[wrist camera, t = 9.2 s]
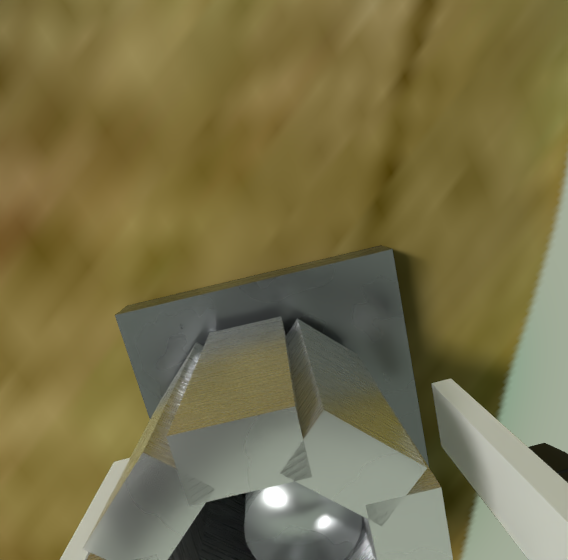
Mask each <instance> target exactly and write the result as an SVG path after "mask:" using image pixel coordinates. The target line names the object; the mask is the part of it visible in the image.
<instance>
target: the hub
mask: <svg viewBox="0 0 568 560" xmlns="http://www.w3.org/2000/svg"><path fill="white" fill-rule="evenodd" d="M294 481H295V482H297V483H299V484H301V485H303V486H305V487H307V488H309V489H311V490H313V491H315V492H317V493H319V494H320V495H322V496H324V497H326V498H328V499H330V500H332V501H334V502H336V503H338V504H340V505H342V506H344V507H346V508H347V509H349V510H351V511H353V512H355V513H357V514H359V515H361V516H362V529H361V533H360V536H359V539H358V541H357V543H356V545H355V547H354V548H353V550H352V551H351V552H350V553H349V554H348V556H347V557H345V558H344V559H343V560H453V557H452V551H451V545H450V539H449V532H448V526H447V520H446V513H445V507H444V501H443V495H442V488H441V486H440V484H439V483H438V481H437V480H436V478H435V476H434V475H433V473H432V472H431V470H430V468H429V467H428V465H427V464H426V462H425V460H424V459H423V457H422V455H421V454H420V452H419V451H418V449H417V447H416V446H415V444H414V443H413V441H412V439H411V438H410V436H409V435H408V433H407V431H406V430H405V428H404V427H403V425H402V423H401V422H400V420H399V419H398V417H397V415H396V414H395V412H394V411H393V409H392V407H391V406H390V404H389V403H388V401H387V399H386V398H385V396H384V395H383V393H382V391H381V390H380V388H379V387H378V385H377V383H376V382H375V380H374V379H373V377H372V375H371V374H370V372H369V371H368V369H367V367H366V366H364V364H363V363H362V361H361V360H360V358H359V356H358V355H357V354H356V353H354V352H353V351H351V350H349V349H348V348H346V347H344V346H343V345H341V344H339V343H338V342H336V341H334V340H332V339H331V338H329V337H327V336H326V335H324V334H322V333H321V332H319V331H317V330H316V329H314V328H312V327H311V326H309V325H307V324H306V323H304V322H302V321H301V320H299V319H297V320H296V322H295V323H294V325H293V326H292V328H291V329H290V331H289V332H288V334H287V335H286V334H285V330H284V326H283V321H282V317H281V316H280V317H276V318H271V319H267V320H263V321H258V322H254V323H250V324H246V325H241V326H237V327H233V328H228V329H224V330H220V331H215V332H211V333H209V335H208V338H207V340H206V342H205V345H204V346H202V345H201V344H199V343H197V342H196V343H195V345H194V347H193V348H192V350H191V352H190V353H189V355H188V356H187V358H186V360H185V361H184V363H183V365H182V366H181V368H180V369H179V371H178V373H177V374H176V376H175V377H174V379H173V381H172V382H171V384H170V386H169V387H168V389H167V390H166V392H165V394H164V395H163V397H162V399H161V400H160V402H159V404H158V406H157V408H156V410H155V412H154V414H153V415H152V417H151V419H150V421H149V423H148V425H147V427H146V429H145V431H144V433H143V435H142V436H141V438H140V440H139V442H138V444H137V446H136V448H135V450H134V452H133V454H132V456H131V457H130V459H129V461H128V463H127V465H126V467H125V469H124V471H123V473H122V475H121V477H120V478H119V480H118V482H117V484H116V486H115V488H114V490H113V492H112V494H111V496H110V498H109V499H108V501H107V503H106V505H105V507H104V509H103V511H102V513H101V515H100V517H99V519H98V520H97V522H96V524H95V526H94V528H93V530H92V532H91V534H90V536H89V538H88V540H87V541H86V543H85V545H84V547H83V550H86V551H88V552H90V554H89V556H88V558H87V560H257V559H256V558H255V557H254V555H253V554H252V553H251V551H250V549H249V548H248V545H247V543H246V539H245V533H244V522H245V495H246V493H247V492H251V491H256V490H260V489H264V488H268V487H273V486H277V485H281V484H285V483H290V482H294Z"/></svg>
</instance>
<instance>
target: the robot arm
mask: <svg viewBox="0 0 568 560" xmlns="http://www.w3.org/2000/svg"><path fill="white" fill-rule="evenodd" d="M431 384H432V390H433V396H434V403H435V409H436V415H437V422H438V428H439V434H440V441H441V446H442V448H443V449H444V450H445V452H446V453H447V454H448V456H449V457H450V458H451V459H452V461H453V462H454V463H455V465H456V466H457V467H458V469H459V470H460V471H461V473H462V474H463V475H464V476H465V478H466V479H467V480H468V482H469V483H470V484H471V486H472V487H473V488H474V489H475V491H476V492H477V493H478V495H479V496H480V497H481V499H482V500H483V501H484V503H485V504H486V505H487V506H488V508H489V509H490V510H491V512H492V513H493V514H494V516H495V517H496V518H497V520H498V521H499V522H500V523H501V525H502V526H503V527H504V529H505V530H506V531H507V532H508V534H509V535H510V537H511V538H512V539H513V540H514V542H515V543H516V544H517V545H518V547H519V548H520V549H521V551H522V552H523V554H524V555H525V556H526V557H527V559H528V560H568V454H567V453H565V452H563V451H561V450H559V449H557V448H555V447H553V446H550V445H548V444H546V443H542V444H538V445H534V446H530V447H527V446H526V445H525V444H524V443H523V442H521V441H520V440H519V439H518V438H517V437H516V436H515V435H513V433H511V432H510V431H509V430H508V429H507V428H506V427H505V426H504V425H502V424H501V423H500V422H499V421H498V420H497V419H496V418H495V417H493V416H492V415H491V414H490V413H489V412H488V411H487V410H486V409H485V408H483V407H482V406H481V405H480V404H479V403H478V402H477V401H476V400H474V399H473V398H472V397H471V396H470V395H469V394H468V393H467V392H466V391H464V390H463V389H462V388H461V387H460V386H459V385H458V384H457V383H455V382H454V381H453V380H452V379H447V380H443V381H439V382H435V383H431ZM129 459H130V458H128V459H124V460H120V461H116V462H114V463H113V465H112V466H111V468H110V470H109V472H108V474H107V475H106V477H105V479H104V481H103V483H102V485H101V486H100V488H99V490H98V492H97V494H96V495H95V497H94V499H93V501H92V503H91V504H90V506H89V508H88V510H87V512H86V513H85V515H84V517H83V519H82V521H81V522H80V524H79V526H78V528H77V530H76V532H75V533H74V535H73V537H72V539H71V541H70V542H69V544H68V546H67V548H66V550H65V551H64V553H63V555H62V557H61V559H60V560H87V558H88V556H89V554H90V552H88V551H86V550H83V547H84V545H85V543H86V541H87V540H88V538H89V536H90V534H91V532H92V530H93V528H94V526H95V524H96V522H97V520H98V519H99V517H100V515H101V513H102V511H103V509H104V507H105V505H106V503H107V501H108V499H109V498H110V496H111V494H112V492H113V490H114V488H115V486H116V484H117V482H118V480H119V478H120V477H121V475H122V473H123V471H124V469H125V467H126V465H127V463H128V461H129Z"/></svg>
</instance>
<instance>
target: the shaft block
mask: <svg viewBox="0 0 568 560" xmlns="http://www.w3.org/2000/svg"><path fill="white" fill-rule="evenodd" d="M280 316H281V317H282V321H283V326H284V330H285V334H286V335H287V334H288V332H289V331H290V329H291V328H292V326H293V325H294V323H295V322H296V320H297V319H299V320H301V321H302V322H304V323H306V324H307V325H309V326H311V327H312V328H314V329H316V330H317V331H319V332H321V333H322V334H324V335H326V336H327V337H329V338H331V339H332V340H334V341H336V342H338V343H339V344H341V345H343V346H344V347H346V348H348V349H349V350H351V351H353V352H354V353H356V354H357V355H358V356H359V358H360V360H361V361H362V363H363V364H364V366H366V367H367V369H368V371H369V372H370V374H371V375H372V377H373V379H374V380H375V382H376V383H377V385H378V387H379V388H380V390H381V391H382V393H383V395H384V396H385V398H386V399H387V401H388V403H389V404H390V406H391V407H392V409H393V411H394V412H395V414H396V415H397V417H398V419H399V420H400V422H401V423H402V425H403V427H404V428H405V430H406V431H407V433H408V435H409V436H410V438H411V439H412V441H413V443H414V444H415V446H416V447H417V449H418V451H419V452H420V454H421V455H422V457H423V459H424V460H425V462H426V464H427V465H428V467H429V463H428V457H427V451H426V445H425V440H424V434H423V428H422V422H421V416H420V410H419V404H418V398H417V392H416V386H415V380H414V374H413V368H412V362H411V356H410V350H409V345H408V339H407V333H406V327H405V321H404V315H403V309H402V303H401V297H400V291H399V285H398V279H397V273H396V267H395V261H394V255H393V250H392V249H391V248H387V247H384V246H377V247H372V248H368V249H364V250H360V251H355V252H351V253H347V254H343V255H339V256H334V257H330V258H326V259H322V260H318V261H313V262H309V263H305V264H301V265H297V266H292V267H288V268H284V269H280V270H276V271H271V272H267V273H263V274H259V275H254V276H250V277H246V278H242V279H238V280H233V281H229V282H225V283H221V284H217V285H212V286H208V287H204V288H200V289H196V290H191V291H187V292H183V293H179V294H175V295H170V296H166V297H162V298H158V299H153V300H149V301H145V302H141V303H137V304H132V305H128V306H126V307H125V308H124V309H122V310H121V311H120V312H118V313H117V314H116V315H115V317H116V320H117V323H118V326H119V329H120V332H121V334H122V337H123V340H124V343H125V346H126V349H127V352H128V355H129V358H130V361H131V364H132V367H133V370H134V373H135V376H136V379H137V382H138V385H139V388H140V391H141V394H142V397H143V400H144V403H145V406H146V409H147V412H148V415H149V418H150V419H151V417H152V415H153V414H154V412H155V410H156V408H157V406H158V404H159V402H160V400H161V399H162V397H163V395H164V394H165V392H166V390H167V389H168V387H169V386H170V384H171V382H172V381H173V379H174V377H175V376H176V374H177V373H178V371H179V369H180V368H181V366H182V365H183V363H184V361H185V360H186V358H187V356H188V355H189V353H190V352H191V350H192V348H193V347H194V345H195V343H196V342H197V343H199V344H201V345H202V346H204V345H205V342H206V340H207V338H208V335H209V333H211V332H215V331H220V330H224V329H228V328H233V327H237V326H241V325H246V324H250V323H254V322H258V321H263V320H267V319H271V318H276V317H280ZM361 529H362V516H361V515H359V514H357V513H355V512H353V511H351V510H349V509H347V508H346V507H344V506H342V505H340V504H338V503H336V502H334V501H332V500H330V499H328V498H326V497H324V496H322V495H320V494H319V493H317V492H315V491H313V490H311V489H309V488H307V487H305V486H303V485H301V484H299V483H297V482H295V481H294V482H290V483H285V484H281V485H277V486H273V487H268V488H264V489H260V490H256V491H251V492H247V493H246V495H245V522H244V533H245V539H246V543H247V545H248V548H249V549H250V551H251V553H252V554H253V555H254V557H255V558H256V559H257V560H343V559H344V558H345V557H347V556H348V554H349V553H350V552H351V551H352V550H353V548H354V547H355V545H356V543H357V541H358V539H359V536H360V533H361Z"/></svg>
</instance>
